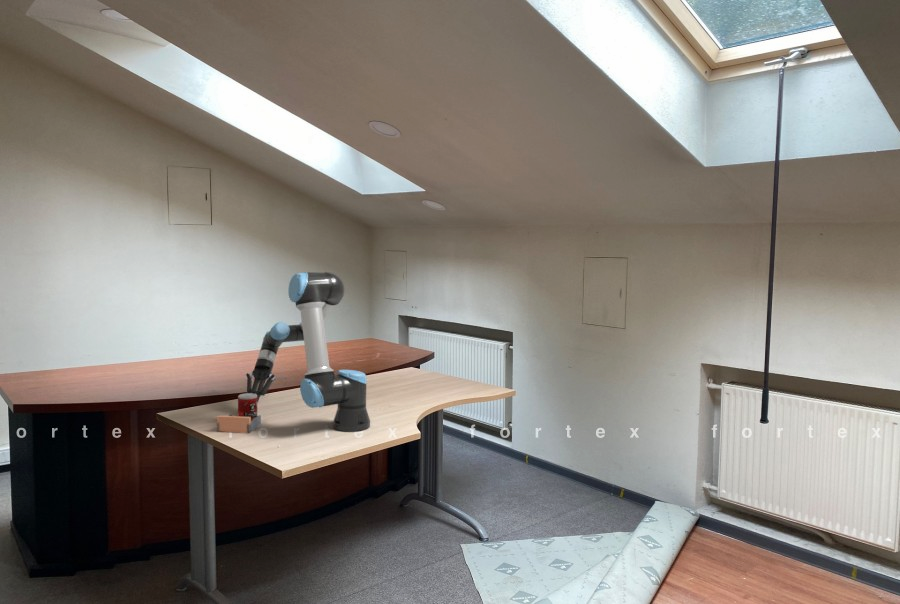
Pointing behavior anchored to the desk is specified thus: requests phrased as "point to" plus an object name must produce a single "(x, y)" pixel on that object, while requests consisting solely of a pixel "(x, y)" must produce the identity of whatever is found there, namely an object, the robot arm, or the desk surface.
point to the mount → (237, 423)
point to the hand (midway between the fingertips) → (251, 408)
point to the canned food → (247, 405)
